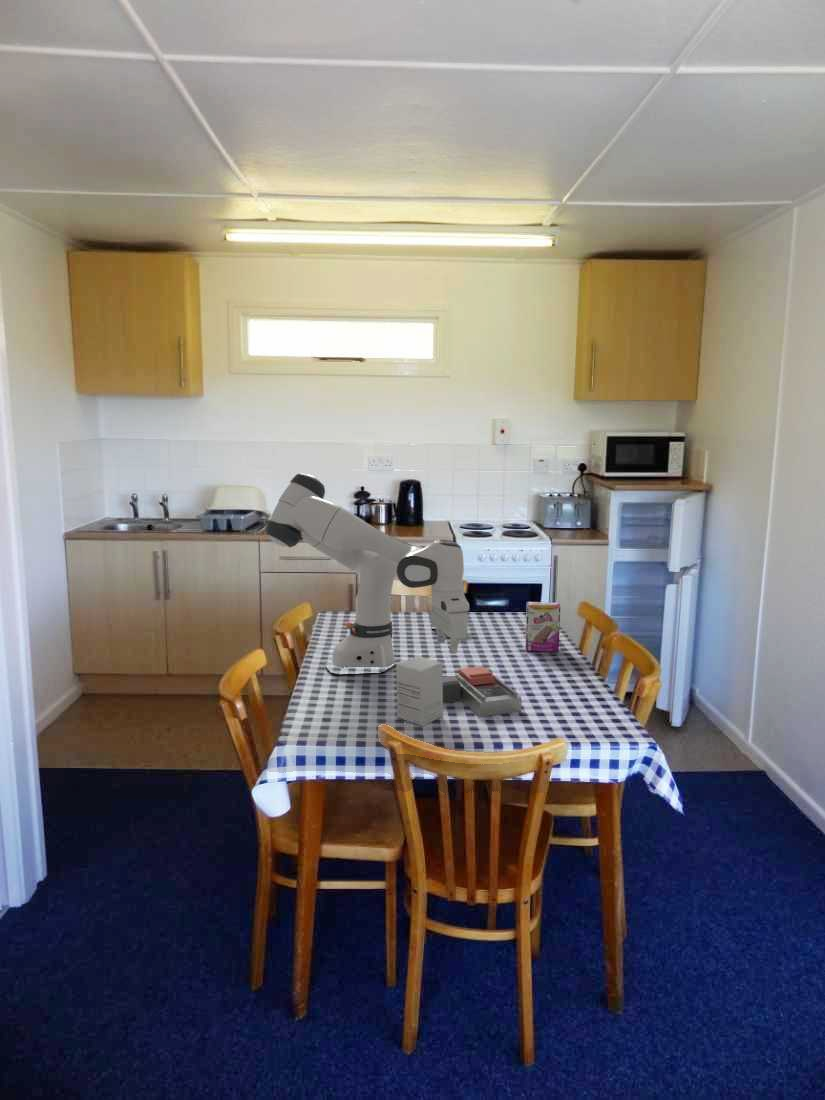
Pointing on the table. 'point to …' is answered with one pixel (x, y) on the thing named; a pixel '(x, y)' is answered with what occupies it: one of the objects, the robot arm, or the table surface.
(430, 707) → the supplement box
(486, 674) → the red stepped block
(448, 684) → the plug
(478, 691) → the socket
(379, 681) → the table surface
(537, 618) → the candy bar box
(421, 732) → the table surface
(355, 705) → the table surface
